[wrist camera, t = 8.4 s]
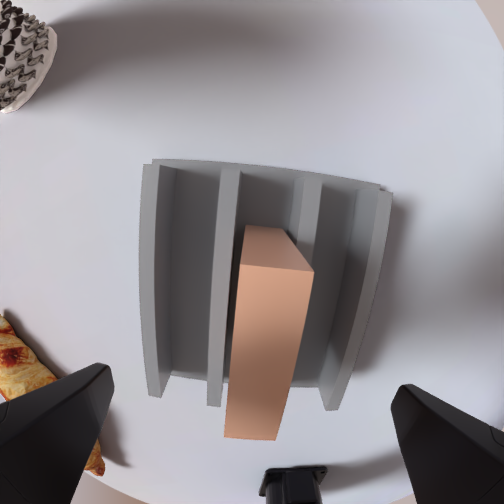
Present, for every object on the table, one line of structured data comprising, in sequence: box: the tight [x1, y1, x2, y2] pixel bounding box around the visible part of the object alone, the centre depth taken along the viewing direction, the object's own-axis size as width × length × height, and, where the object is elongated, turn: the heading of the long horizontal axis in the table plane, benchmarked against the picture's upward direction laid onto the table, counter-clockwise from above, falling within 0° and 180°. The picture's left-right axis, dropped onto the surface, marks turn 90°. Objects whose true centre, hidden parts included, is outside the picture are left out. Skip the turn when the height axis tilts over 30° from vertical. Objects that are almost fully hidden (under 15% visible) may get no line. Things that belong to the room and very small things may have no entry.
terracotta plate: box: [224, 225, 314, 441], centre depth 12 cm, size 7×2×8 cm, turn 174°
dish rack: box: [139, 159, 393, 411], centre depth 15 cm, size 14×13×4 cm
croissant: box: [0, 314, 105, 477], centre depth 17 cm, size 21×10×8 cm, turn 22°
